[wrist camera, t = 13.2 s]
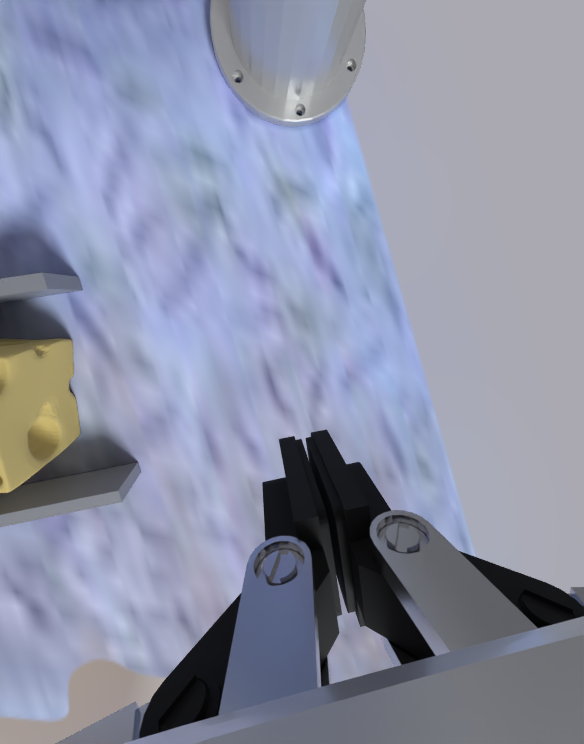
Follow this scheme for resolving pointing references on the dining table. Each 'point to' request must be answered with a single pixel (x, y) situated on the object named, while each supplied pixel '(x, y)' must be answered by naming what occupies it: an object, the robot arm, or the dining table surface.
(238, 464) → the dining table surface
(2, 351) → the cheese
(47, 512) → the bin
